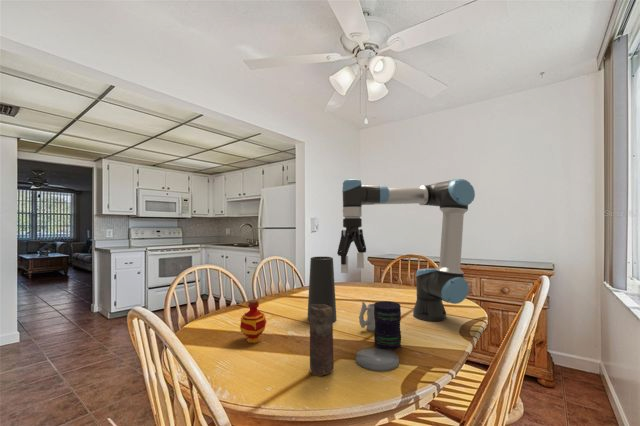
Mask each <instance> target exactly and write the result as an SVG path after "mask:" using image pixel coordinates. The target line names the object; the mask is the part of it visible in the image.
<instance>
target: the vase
mask: <svg viewBox="0 0 640 426" xmlns="http://www.w3.org/2000/svg"><path fill="white" fill-rule="evenodd" d="M309 263H310V264H309V267H310V268H309V281H308V282H309V283H308V284H309V285H308V300H307V301H308V302H307V317H306V318H307V319H306V320H307V321H308V322H309V323H310V305H311V304H325V305H328V306H329V307H332V315H333V323H336V321H337V307H336V306H337V305H336V304H337V303H336V301H337V300H336V289H335V288H336V287H335V284H336V283H335V272H334V271H335V269H334V268H335V267H334V258H333V257H331V256H312V257H310V262H309Z"/></svg>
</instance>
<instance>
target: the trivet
mask: <svg viewBox="0 0 640 426" xmlns="http://www.w3.org/2000/svg"><path fill="white" fill-rule="evenodd" d="M355 362H356V364H357V365H358V366H359V367H361V368H363V369H366V370H369V371H374V372H389V371H392V370H395V369H396V368H397V367H399V365H400V359H399V356H398V355H397V354H396V353H394V352H392V351H389V350H384V349H379V348H377V347H376V348H375V347H374V348H365V349H361V350H359V351H357V353H356V354H355Z"/></svg>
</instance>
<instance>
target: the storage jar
mask: <svg viewBox="0 0 640 426" xmlns="http://www.w3.org/2000/svg"><path fill="white" fill-rule="evenodd" d="M373 304H374V319H375V329H374V331H373V332H374V333H373V338H374V347H376V349H384V350H388V351H390V352H392V351H398V350H400V349H401V347H402V330H401V319H402V317H401V316H402V312H401V311H402V310H401V304H400V303H398V302H395V301H389V300H388V301H387V300H385V301H383V300H382V301H376V302H374V303H373Z"/></svg>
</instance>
